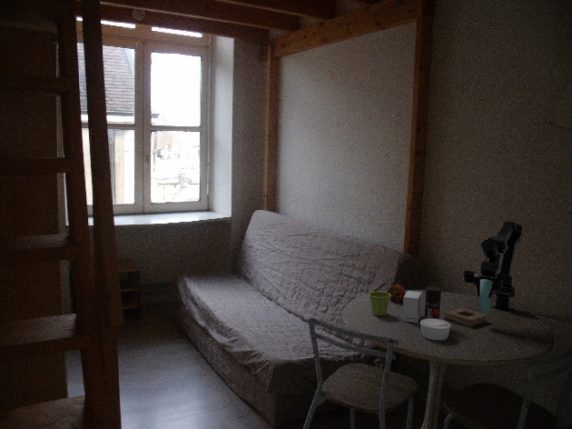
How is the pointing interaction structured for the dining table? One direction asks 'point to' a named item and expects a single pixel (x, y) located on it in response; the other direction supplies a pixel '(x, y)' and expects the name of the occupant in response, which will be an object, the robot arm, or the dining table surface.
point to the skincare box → (412, 306)
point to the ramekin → (435, 329)
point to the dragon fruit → (396, 292)
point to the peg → (484, 295)
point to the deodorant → (432, 303)
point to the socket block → (465, 317)
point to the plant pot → (379, 302)
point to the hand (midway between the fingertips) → (484, 296)
